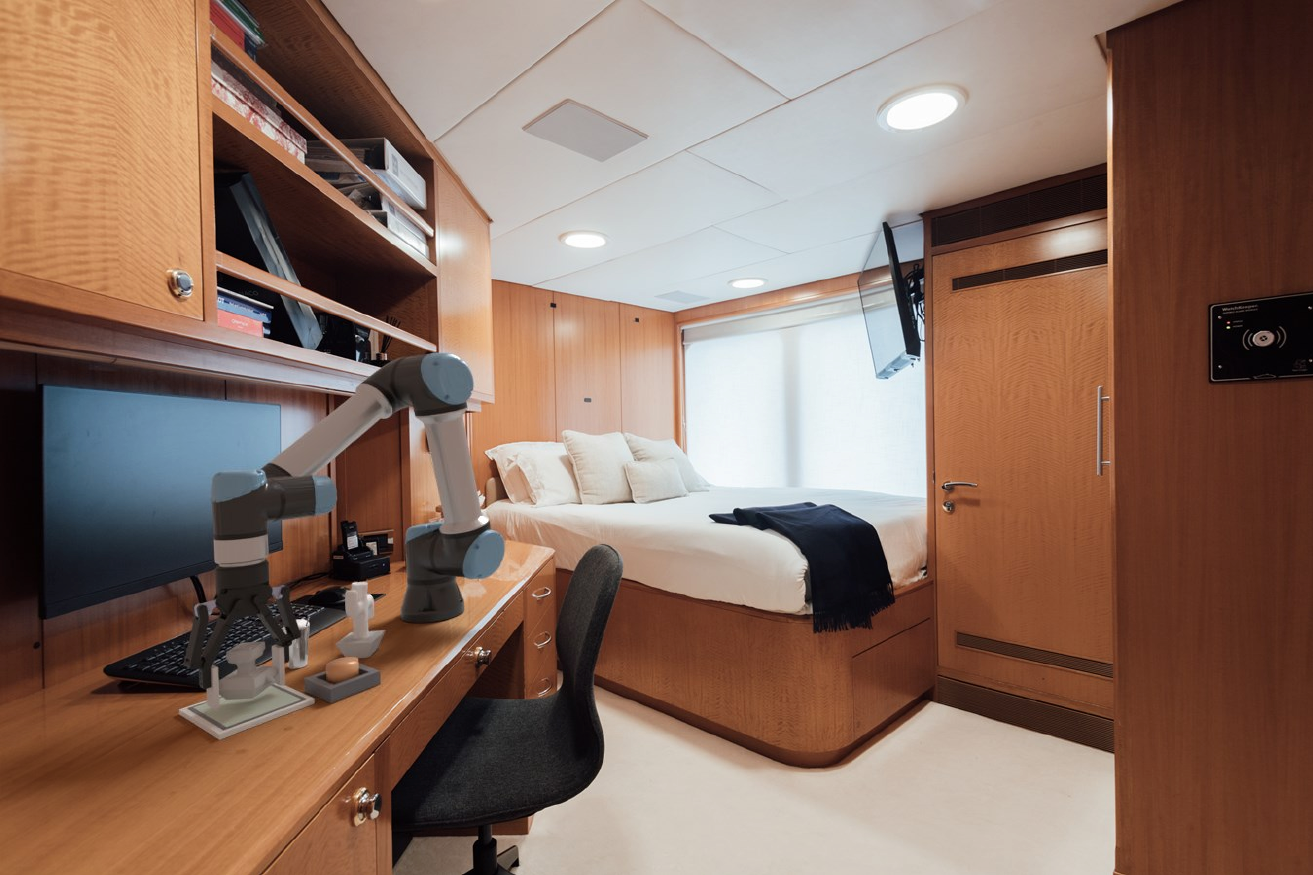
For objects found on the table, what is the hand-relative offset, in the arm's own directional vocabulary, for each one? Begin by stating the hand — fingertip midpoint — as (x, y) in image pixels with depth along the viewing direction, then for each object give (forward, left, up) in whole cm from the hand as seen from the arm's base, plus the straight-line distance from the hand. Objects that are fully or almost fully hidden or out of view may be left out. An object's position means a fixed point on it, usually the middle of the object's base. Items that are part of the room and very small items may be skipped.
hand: (247, 694), depth 101 cm
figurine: (-24, -7, -3) cm, 25 cm away
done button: (-13, +6, -1) cm, 14 cm away
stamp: (0, 0, -1) cm, 1 cm away
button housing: (-13, +6, -2) cm, 14 cm away
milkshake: (-14, -12, -3) cm, 19 cm away
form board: (0, 0, -2) cm, 2 cm away
